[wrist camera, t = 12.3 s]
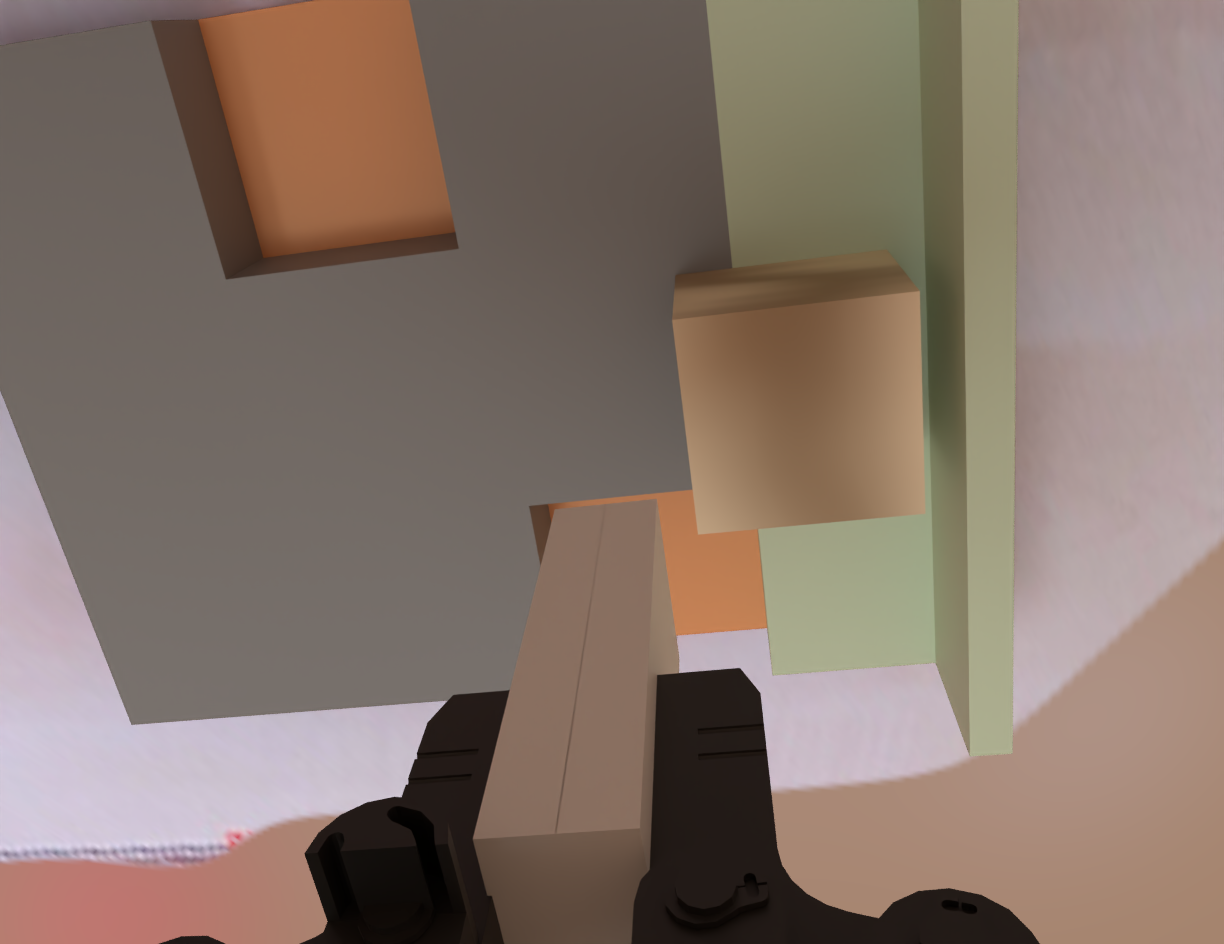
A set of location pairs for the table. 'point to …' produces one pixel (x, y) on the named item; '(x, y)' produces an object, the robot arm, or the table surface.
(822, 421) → the block
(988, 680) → the box
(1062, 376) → the table surface
